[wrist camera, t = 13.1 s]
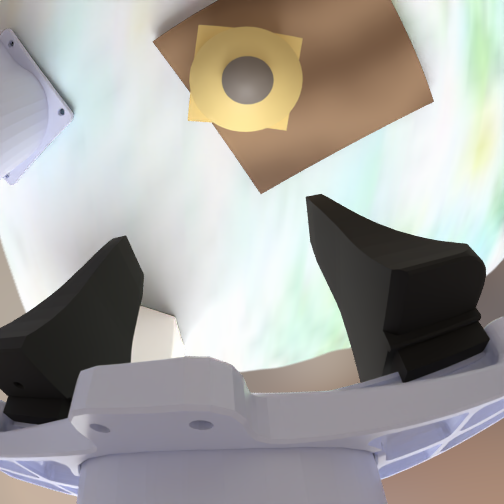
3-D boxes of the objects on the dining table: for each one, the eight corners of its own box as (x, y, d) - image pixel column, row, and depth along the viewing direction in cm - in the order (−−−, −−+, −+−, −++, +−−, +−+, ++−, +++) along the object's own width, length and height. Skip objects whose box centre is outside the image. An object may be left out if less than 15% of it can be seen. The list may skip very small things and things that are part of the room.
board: (156, 42, 16) (152, 41, 15) (350, -51, 12) (357, -55, 11) (258, 187, 22) (260, 194, 21) (424, 98, 19) (433, 101, 18)
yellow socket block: (274, 116, 17) (295, 141, 13) (193, 108, 17) (182, 130, 12) (287, 40, 15) (314, 36, 10) (202, 30, 14) (195, 20, 10)
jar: (190, 359, 32) (189, 466, 22) (119, 361, 32) (102, 460, 22) (172, 297, 27) (159, 425, 17) (88, 302, 27) (52, 417, 17)
